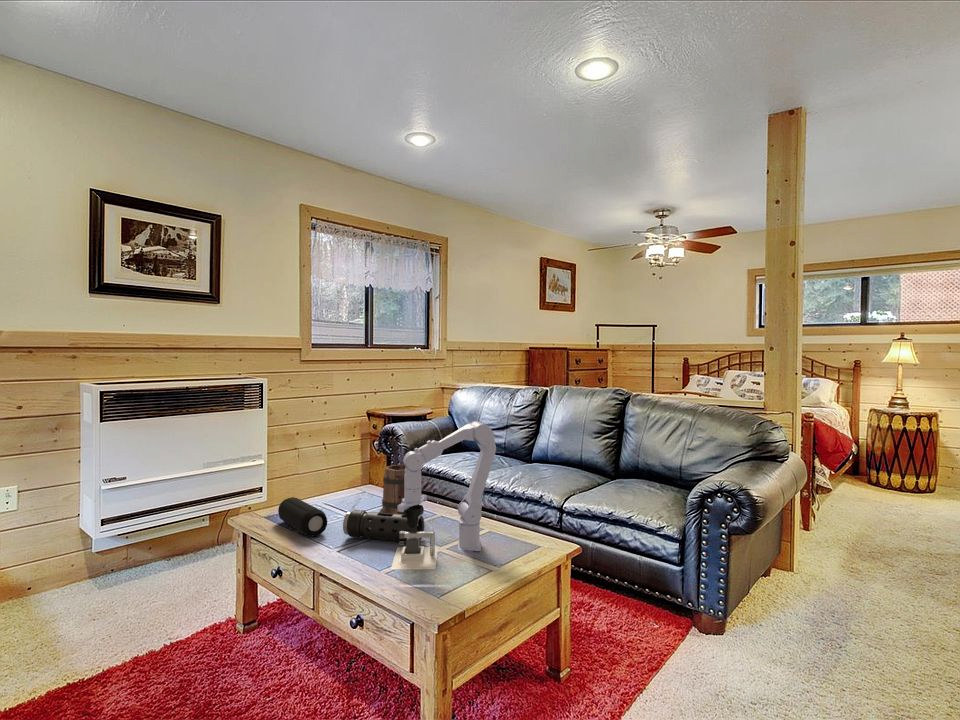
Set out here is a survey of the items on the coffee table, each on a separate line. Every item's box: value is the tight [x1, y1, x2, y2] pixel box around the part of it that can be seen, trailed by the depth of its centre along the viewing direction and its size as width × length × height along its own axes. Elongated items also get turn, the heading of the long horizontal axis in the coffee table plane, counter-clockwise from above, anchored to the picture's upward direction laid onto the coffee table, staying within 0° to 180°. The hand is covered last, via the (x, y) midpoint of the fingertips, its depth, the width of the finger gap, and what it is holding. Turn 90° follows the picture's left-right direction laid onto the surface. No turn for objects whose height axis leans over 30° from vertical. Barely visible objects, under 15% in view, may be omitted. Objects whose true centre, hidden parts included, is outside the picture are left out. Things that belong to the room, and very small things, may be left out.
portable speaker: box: [277, 496, 328, 537], centre depth 201 cm, size 26×10×10 cm, turn 43°
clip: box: [399, 531, 436, 556], centre depth 174 cm, size 2×12×8 cm, turn 92°
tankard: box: [379, 464, 425, 516], centre depth 216 cm, size 24×17×20 cm
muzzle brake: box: [342, 509, 425, 543], centre depth 189 cm, size 10×28×10 cm, turn 78°
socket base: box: [390, 545, 439, 571], centre depth 173 cm, size 18×14×3 cm
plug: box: [398, 538, 420, 554], centre depth 174 cm, size 4×7×6 cm, turn 92°
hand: (412, 527), depth 177 cm, fingers closed
